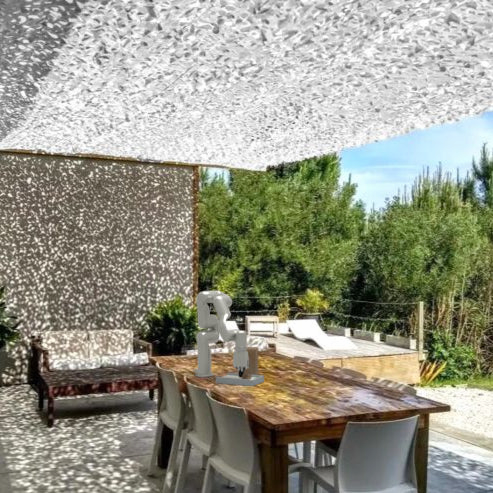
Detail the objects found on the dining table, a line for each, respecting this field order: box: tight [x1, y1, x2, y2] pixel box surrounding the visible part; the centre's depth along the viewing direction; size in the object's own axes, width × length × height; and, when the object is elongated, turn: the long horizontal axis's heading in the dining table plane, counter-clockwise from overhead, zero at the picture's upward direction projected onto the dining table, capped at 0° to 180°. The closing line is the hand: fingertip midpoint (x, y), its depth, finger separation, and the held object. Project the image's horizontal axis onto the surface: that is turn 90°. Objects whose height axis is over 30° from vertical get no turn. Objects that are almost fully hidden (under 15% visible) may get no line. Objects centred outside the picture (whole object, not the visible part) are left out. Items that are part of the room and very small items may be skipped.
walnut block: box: [242, 374, 251, 380], centre depth 419 cm, size 4×4×3 cm
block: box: [244, 346, 259, 375], centre depth 444 cm, size 10×10×20 cm
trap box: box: [215, 372, 265, 387], centre depth 421 cm, size 27×18×4 cm, turn 64°
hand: (241, 376), depth 421 cm, fingers closed
